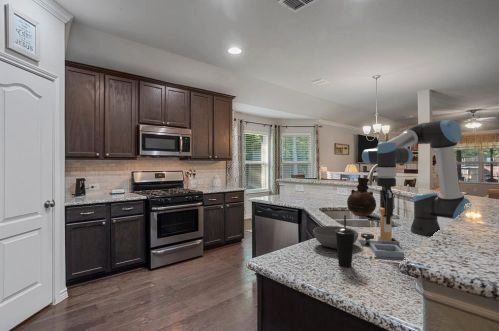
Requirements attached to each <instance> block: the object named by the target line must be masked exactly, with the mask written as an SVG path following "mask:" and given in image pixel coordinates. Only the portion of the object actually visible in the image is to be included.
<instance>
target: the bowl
mask: <svg viewBox="0 0 499 331" xmlns="http://www.w3.org/2000/svg"><path fill="white" fill-rule="evenodd" d="M340 228H344V226H336V225H335V226H334V225H331V226H330V225H329V226H328V225H324V226H317V227H315V228H313V230H312V233H313V236H314V238H315V239H316V241H317V242H318V243H320V244H321V245H322V246H323V247H327V248H329V249H336V250H337V240H336V233H335V230H337V229H340ZM347 228H348V229H351V230H353V231H355V234H354V244H355V243H356V242H357V241H358V240H359V239H358V238H359V232H358V231H357V230H355V229H352V228H349V227H347Z"/></svg>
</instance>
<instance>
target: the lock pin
mask: <svg viewBox="0 0 499 331" xmlns="http://www.w3.org/2000/svg"><path fill="white" fill-rule="evenodd" d="M378 211H379V212H380V236H379V237H380V239H381V240H384V241H391V240H392V238H393V237H392V236H393V235H392V234H393V233H392V232H393V231H392V227H393V226H392V225H393V223H392V222H393V220H392V217H393V216H392V217H391V232H384V217H383V215H385V208H380V207H379V208H378Z"/></svg>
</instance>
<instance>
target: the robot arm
mask: <svg viewBox="0 0 499 331" xmlns="http://www.w3.org/2000/svg"><path fill="white" fill-rule="evenodd" d="M461 138H462V130H461V127H460V125H459V123H458V122H456V121H455V120H452V119H443V120H436V121H429V122H421V123H418V124H416V125H413V126H411V127H409V128H407V129H405V130H403V131H402V132H401V133H400V134H399V135H398V136H395V137H394V138H391V139H389V140H387V141H383V142H379V143H377V146H376V147H374V148H368V149H364V150H363V151H362V152H361V153H362V154H361V158H362V162H363V163H364V164H366V165H367V164H368V165H377V166H376V169H375V172H376V173H377V174H376V176H377V178H376V185H377V186H378V187H381V190H379V208H385V215H383V217H384V232H391V217H393V216H394V195H395V194H394V193H393V191H392V188H394V187H396V186H397V179H396V178H395V177H397V165H407V164H410V163H411V162H412V160H413V158H414V153H413V151H412V150H411V149H410V148H408V147H414V146H416V145H428V144H429V146H430V149H432V151H434V157H435V164H436V170H437V171H436V172H437V177H438V185H439V186H438V187H439V193H435V192H434V193H433V192H432V193H430V192H429V193H417V194H415V195H414V198H413V221H412V222H411V225H410V232H411V233H412V234H413V233H414V234H416V235H422V236H423V235H424V236H429V237H430V236H432V235H433V234H434V233H435V232H437V231H438V230H440V229H441V227H440V224H439V221H438V218H442V219H443V218H444V219H449V220H454V219H455V218H456V217H457V216H458V215H460V214H461V213H462V212H463V211H464V206H465V204H467V203H470V204H471V200H469V198H466V197H465V194H464V192H462V191H461V190H460V183H459V175H458V169H457V168H458V167H457V161H456V152H455V148H456V147H458V143H459V142H460V141H461ZM455 220H456V219H455Z"/></svg>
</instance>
